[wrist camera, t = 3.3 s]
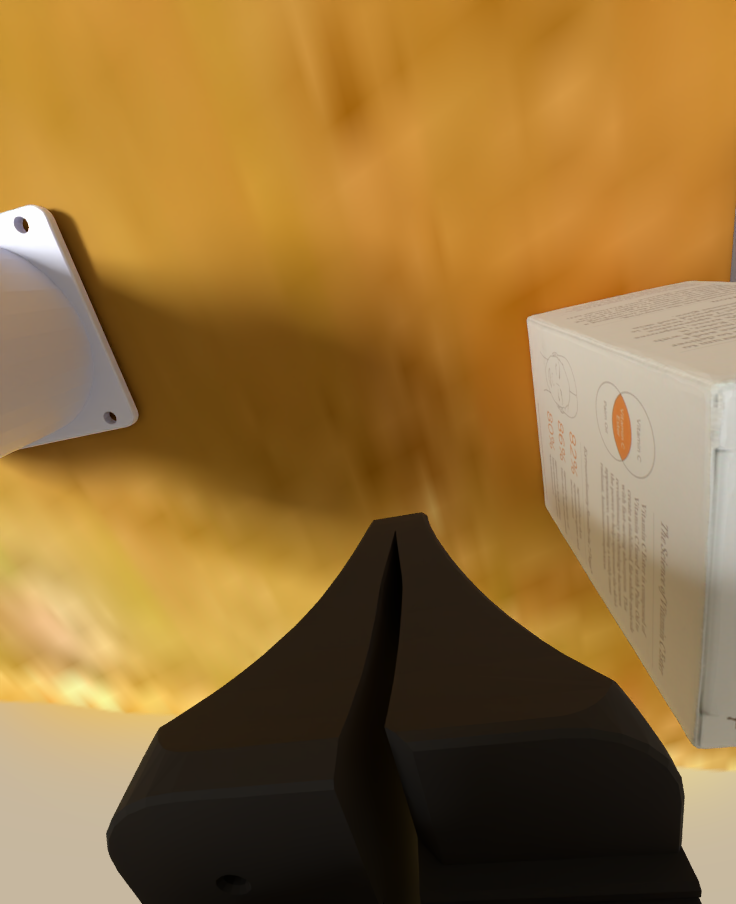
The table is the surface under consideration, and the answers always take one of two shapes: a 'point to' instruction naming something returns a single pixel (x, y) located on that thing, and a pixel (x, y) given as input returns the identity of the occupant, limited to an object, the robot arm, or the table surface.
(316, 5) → the table surface
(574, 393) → the small box
